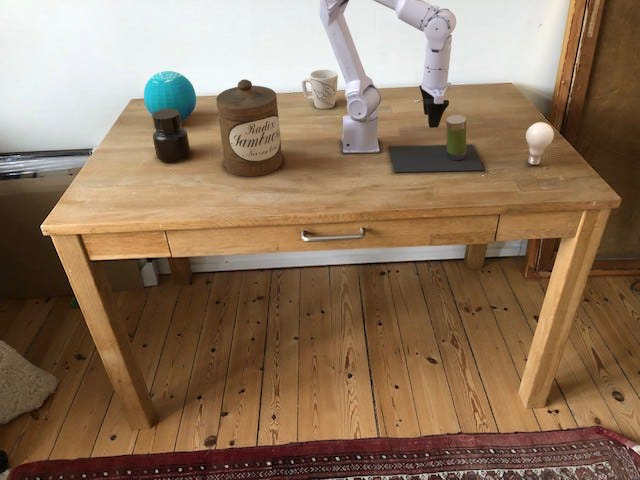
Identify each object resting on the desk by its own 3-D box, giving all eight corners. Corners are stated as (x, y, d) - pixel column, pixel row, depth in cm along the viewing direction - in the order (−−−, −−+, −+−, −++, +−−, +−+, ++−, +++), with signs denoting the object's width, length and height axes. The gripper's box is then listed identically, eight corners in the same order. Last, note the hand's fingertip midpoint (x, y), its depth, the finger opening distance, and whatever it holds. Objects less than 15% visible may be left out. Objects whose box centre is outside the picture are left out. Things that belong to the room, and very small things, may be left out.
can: (448, 161, 139) (448, 124, 133) (445, 152, 143) (444, 116, 137) (468, 159, 138) (468, 121, 132) (464, 150, 142) (464, 113, 136)
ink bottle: (180, 145, 152) (172, 103, 145) (198, 154, 147) (191, 112, 140) (149, 157, 147) (139, 114, 140) (167, 167, 141) (158, 124, 134)
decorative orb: (176, 135, 157) (166, 84, 148) (138, 126, 163) (127, 76, 155) (210, 116, 168) (202, 68, 159) (173, 108, 174) (163, 61, 165)
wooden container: (240, 182, 134) (228, 96, 121) (216, 159, 144) (203, 77, 131) (292, 166, 140) (287, 82, 127) (266, 145, 150) (258, 65, 137)
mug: (298, 108, 171) (296, 77, 165) (307, 98, 177) (305, 68, 171) (333, 111, 168) (333, 79, 162) (341, 101, 174) (340, 70, 168)
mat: (395, 173, 136) (395, 171, 135) (389, 147, 147) (389, 146, 147) (484, 171, 135) (484, 169, 135) (471, 145, 147) (471, 144, 146)
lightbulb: (533, 172, 134) (542, 131, 127) (514, 162, 138) (522, 121, 132) (552, 166, 136) (562, 125, 130) (533, 156, 141) (542, 116, 134)
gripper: (459, 76, 122) (452, 132, 130) (448, 55, 133) (442, 108, 141) (428, 77, 122) (422, 133, 130) (419, 56, 134) (414, 109, 142)
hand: (431, 120), depth 136 cm, fingers open, 7 cm apart
